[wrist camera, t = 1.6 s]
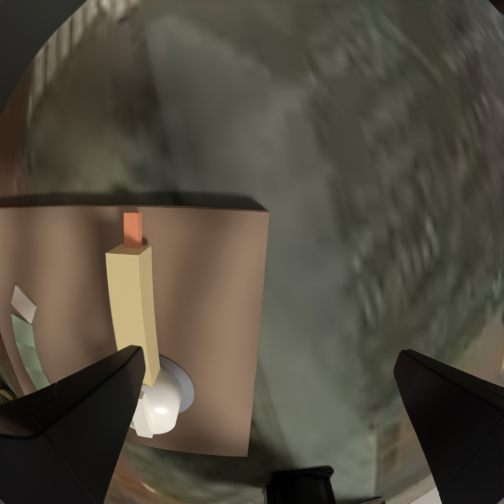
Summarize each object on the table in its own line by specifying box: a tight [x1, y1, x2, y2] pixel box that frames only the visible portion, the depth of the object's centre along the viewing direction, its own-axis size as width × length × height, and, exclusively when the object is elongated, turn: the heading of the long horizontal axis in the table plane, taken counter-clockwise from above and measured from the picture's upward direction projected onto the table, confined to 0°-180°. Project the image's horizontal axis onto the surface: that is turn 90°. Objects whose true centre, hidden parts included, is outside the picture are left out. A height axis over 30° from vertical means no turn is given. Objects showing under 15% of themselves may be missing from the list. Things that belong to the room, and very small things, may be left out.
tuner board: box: [0, 204, 269, 457], centre depth 17 cm, size 22×20×1 cm
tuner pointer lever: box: [106, 212, 183, 438], centre depth 14 cm, size 14×4×3 cm, turn 176°
